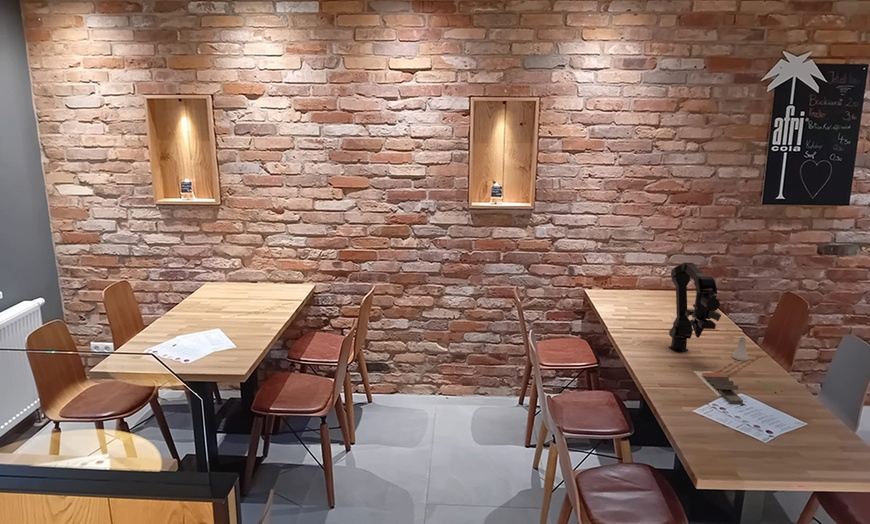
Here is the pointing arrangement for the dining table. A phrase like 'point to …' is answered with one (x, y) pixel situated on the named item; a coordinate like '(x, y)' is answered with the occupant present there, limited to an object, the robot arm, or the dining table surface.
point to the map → (768, 386)
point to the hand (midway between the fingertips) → (697, 337)
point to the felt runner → (707, 380)
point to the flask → (741, 350)
